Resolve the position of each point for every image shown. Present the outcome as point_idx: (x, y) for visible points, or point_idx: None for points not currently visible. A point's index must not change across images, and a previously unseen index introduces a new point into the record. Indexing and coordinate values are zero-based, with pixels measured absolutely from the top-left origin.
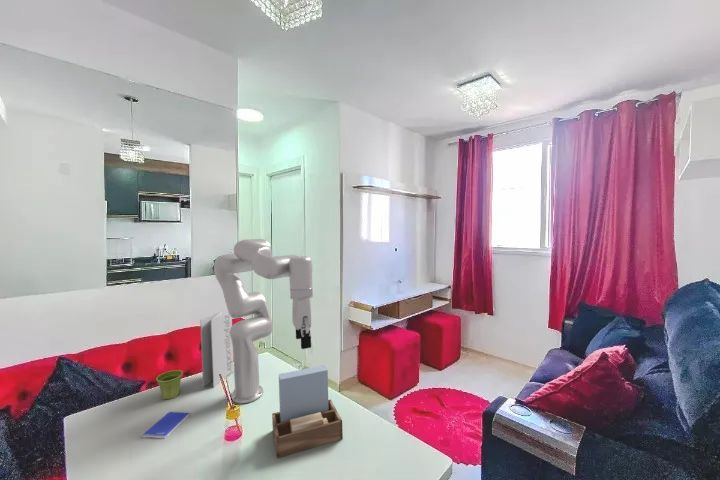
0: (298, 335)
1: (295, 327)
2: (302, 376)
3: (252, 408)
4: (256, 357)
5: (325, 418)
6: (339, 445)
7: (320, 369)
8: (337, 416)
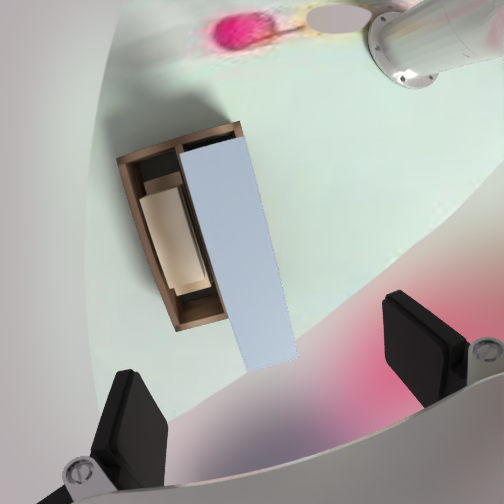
0: (399, 328)
1: (159, 500)
2: (212, 264)
3: (345, 62)
4: (475, 49)
5: (207, 285)
6: (159, 301)
7: (258, 345)
8: (196, 321)
